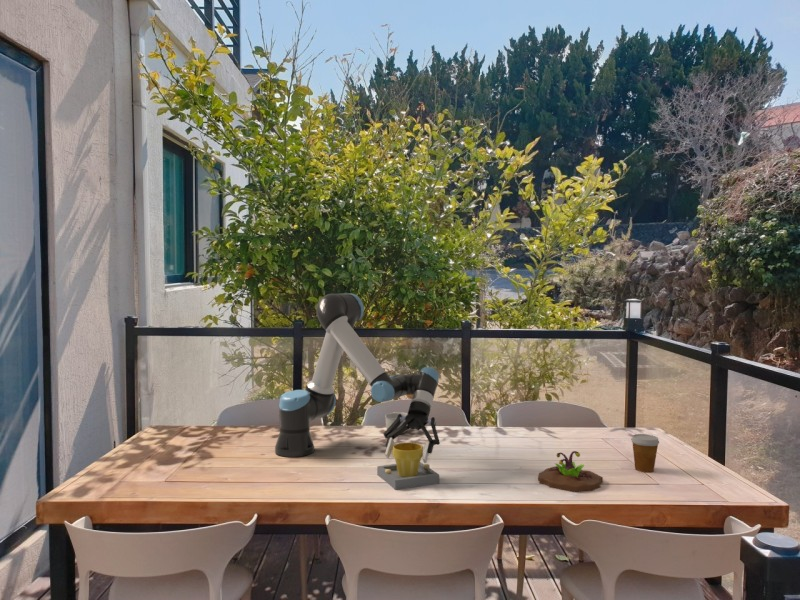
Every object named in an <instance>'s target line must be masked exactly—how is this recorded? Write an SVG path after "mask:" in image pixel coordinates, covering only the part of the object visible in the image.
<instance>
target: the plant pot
mask: <svg viewBox="0 0 800 600" xmlns="http://www.w3.org/2000/svg"><path fill="white" fill-rule="evenodd" d="M423 455H424V446H423V445H422V444H420V443H416V442H400V443H399V442H398V443H394V444H393V447H392V457H393V458H394V459H395V460H394V461H395V464H396V465H397V470H398V475H399V476H401V477H413V476H417V474H418V470H419V465H420V462H421V460H422V459H421V458H423Z"/></svg>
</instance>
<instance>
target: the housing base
mask: <svg viewBox="0 0 800 600" xmlns="http://www.w3.org/2000/svg"><path fill="white" fill-rule="evenodd" d="M376 467H377V469H376V470H377V472H376V473H377V474H376V475H377V476H378V477H379V478H380V479H382V480H383V481H384V482H385V483H387V484H388V485H389V486H390V487H392V488H393V490H402V489H408V488H409V489H410V488H417V487H423V486H430V485H436V484H437V485H438V484H440V473H438V472H436V471H435V470H433V469H431V468H430V464H429V463H422V462H421V461H420V465H419V470H418V474H417V476H413V477H401V476H399V475H398V470H397V465H396V463H393V464H385V465H377V466H376Z"/></svg>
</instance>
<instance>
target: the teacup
mask: <svg viewBox="0 0 800 600" xmlns="http://www.w3.org/2000/svg"><path fill="white" fill-rule="evenodd" d="M399 414H401V415H402V416H407V414H408V412H403V411H402V412H397V411H393V412H389V413H386V414H385V416H384V417H385V427H386V430H387V429H388V428H389V427H390V426H391V424H392V423H393V422H394V421H395V420H396V419H397V417H398V415H399ZM405 421H406V420H404V421H403V422H402V423H401V424H400V425H399V427H400V426H401V425H402V424H403V423H404V422H405ZM406 426H408V424H407V425H406ZM407 431H408V430H406V431H404V432H403V433H402V434H404V433H406V432H407Z"/></svg>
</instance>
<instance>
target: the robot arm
mask: <svg viewBox="0 0 800 600" xmlns="http://www.w3.org/2000/svg"><path fill="white" fill-rule="evenodd" d="M361 299H362V298H360V297H359V296H358V295H357V294H355V293H349V292H344V293H341V292H340V293H328V294H325V295H324V296H321V298H320V299H319V300H318V302H317V304H316V311H315V312H316V317H317V320H318V321H319V323H320V325H321V327H322V328H323V329H324V331H325V335H324V339H323V342H322V345H321V348H320V351H319V355H318V358H317V361H316V366H315V370H314V373H313V375H312V379H311V380H310V381H308V382H307V383H306V387H305V389H294V390H289V391H286V392H284V393H283V394H281V395H280V398H279V405H278V408H279V434H278V437H277V438H276V439H277V440H276V443H275V446H274V454H276V455H277V456H281V457H286V458H287V457H288V458H296V457H297V458H298V457H305V456H308V455H312V453H314V451H315V445H314V441H313V438H312V434H311V432H310V431H311V430H310V428H311V427H310V422H311V421H314V420H317V419H321V418H324V417H326V416H328V415H329V414H331V413H332V411H334V409H335V407H336V402H337V400H336V399H337V398H336V397H335V396H336V395H335V388H334V387H333V384H334V381H335V378H336V373H337V372H338V368H339V364H340V361H341V357H342V355H343V353H345V354H346V355H347V357H348V358H349V360H351V362H352V363H353V365H354V366H355V368H356V369H357V370H358V371H359V372H360V373H361V375H362V377H364V379H365V380H366V382H367V383H368V385H370V393H371V397H372V399H373V400H374V401H376V402H379V403H385V402H390V401H392V400H394V399H398V398H400V397H403V396H408V395H409V396H410V395H412V398H411V401H410V403H409V408H408V409H407V410H408V411H407V413H408V414H407V416H402V415H401V414H399V415H398V417H397V419H396V420H395V421H394V422H393V423H392V424H391V426H390V427H389V428H388V429H387V428H386V430H385V431H384V432H383V436H384V439H386V442H385V448H386V450H385V453H384V456H385V457H386V459H390V457H391V453H392V451H393V446H394V445H395V439H396V438H397V437H399V436H400V435H401V434H404V433H403V432H404V431H406V430H407V431H408V430H417V431H419V430H421V431H422V432H423V434H424V435H425V437H426V439H427V440H428V441H426V444H425V448H424V450H423V456H422V459H421V460H422V461H423V464H427V463H428V458H429V455H430V454H432V452H433V449H434V446H435V445H439V446H440V443H441V441H440V439H439V435H438V431H437V426H436V423H437V421H436V418H435V417H431V418H429V417H430V413H431V408H432V405H433V402H434V397H435V394H436V390H437V388H438V385H439V380H440V373H439V371H437V370H436V369H435V368H433V367H431V366H425V367H423V368H421V369H420V371H419V372H418V373H415V374H395V375H389V374H388V373H387V372H386V370H385V369H384V367H382V365H381V364H380V362H379V361H378V360H377V359H376V357H375V356H374V354H372V352H371V351H370V349H369V348H368V347H367V345H366V344H365V343H364V341H363V340H362V339H361V338H360V336H359V335H358V334H357V332H356V331H355V330H354V329H355V324H356V323H357V322H358V321H360V320H361V319H362V318H363V316H364V311H365V306H364V303H363V301H362V300H361ZM404 420H406V421H405V422H404V423H403V424H402V425H401V426H400V427H399V425H400V424H401V423H402V422H403V421H404ZM407 424H408V426H406V425H407ZM427 424H429V425H430V426H431V430H432V434H433V437H434V439H433V438H432V436H431V435H430V433H429V431H428V430H427V428H426V426H427ZM407 431H406V432H407Z"/></svg>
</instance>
